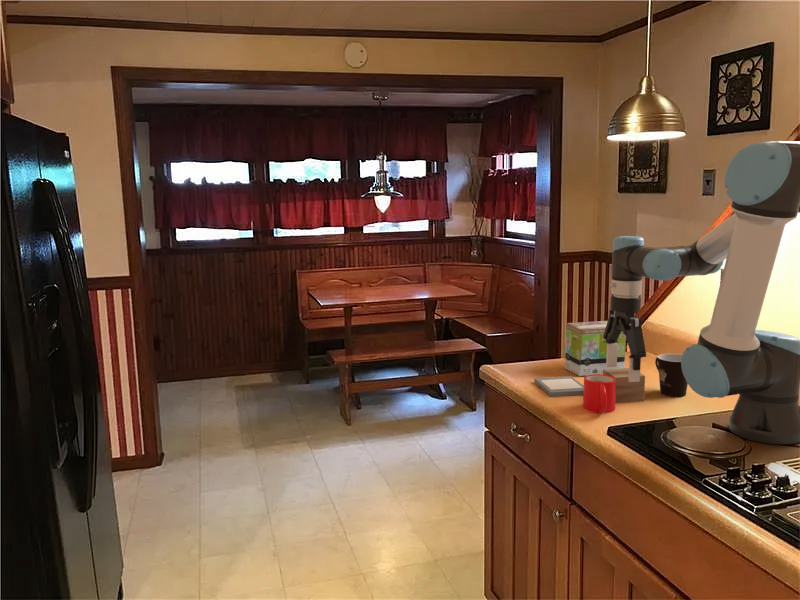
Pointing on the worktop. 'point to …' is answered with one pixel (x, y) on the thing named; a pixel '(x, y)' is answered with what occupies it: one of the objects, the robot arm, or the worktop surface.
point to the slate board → (560, 386)
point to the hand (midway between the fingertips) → (622, 374)
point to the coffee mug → (671, 375)
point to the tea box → (590, 348)
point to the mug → (599, 393)
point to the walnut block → (626, 385)
